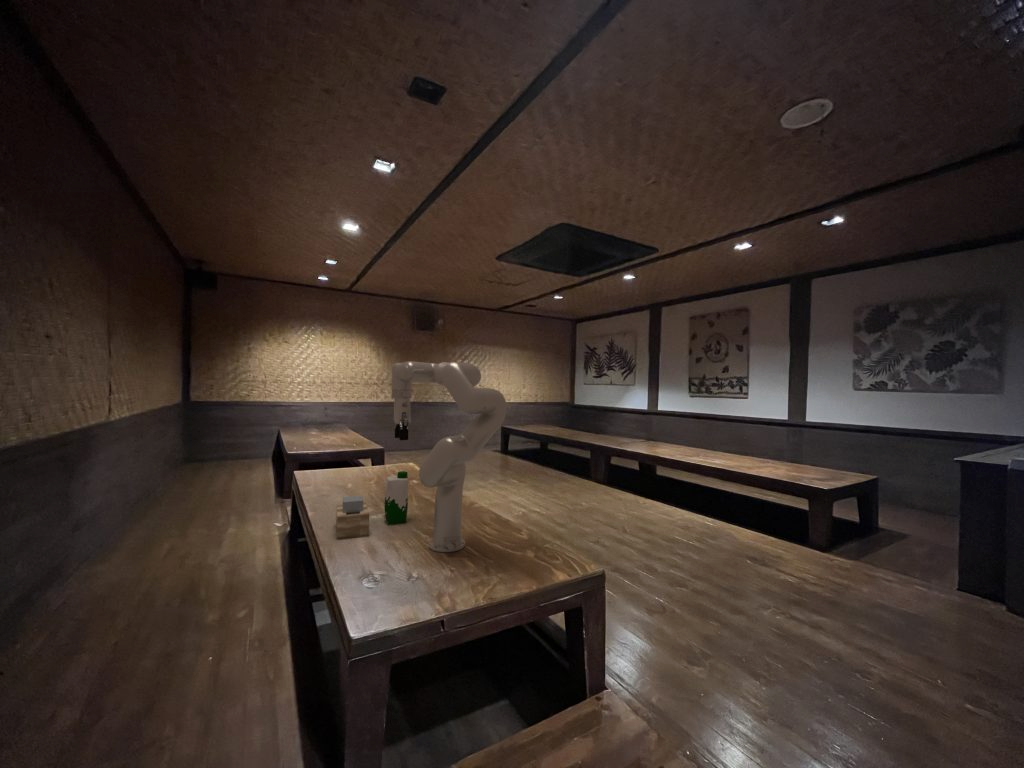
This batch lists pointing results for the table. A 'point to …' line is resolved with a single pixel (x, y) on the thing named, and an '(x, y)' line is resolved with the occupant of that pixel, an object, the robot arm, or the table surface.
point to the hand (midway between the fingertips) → (401, 438)
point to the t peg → (352, 504)
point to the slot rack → (352, 523)
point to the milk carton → (396, 498)
